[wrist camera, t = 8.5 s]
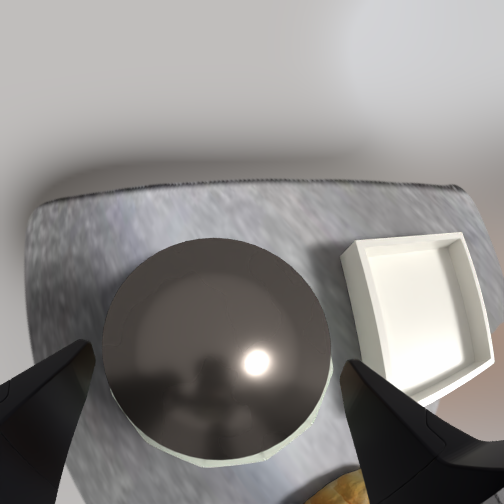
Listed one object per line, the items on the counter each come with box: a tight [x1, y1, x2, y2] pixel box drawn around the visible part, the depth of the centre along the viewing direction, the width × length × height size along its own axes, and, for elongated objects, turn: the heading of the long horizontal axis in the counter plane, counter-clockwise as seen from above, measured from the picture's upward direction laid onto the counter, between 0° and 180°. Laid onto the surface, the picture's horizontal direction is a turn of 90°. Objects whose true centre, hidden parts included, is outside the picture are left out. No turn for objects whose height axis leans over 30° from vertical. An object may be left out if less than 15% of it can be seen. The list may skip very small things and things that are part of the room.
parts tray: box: [340, 232, 494, 407], centre depth 19 cm, size 13×13×3 cm
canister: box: [102, 238, 331, 460], centre depth 11 cm, size 5×5×12 cm
